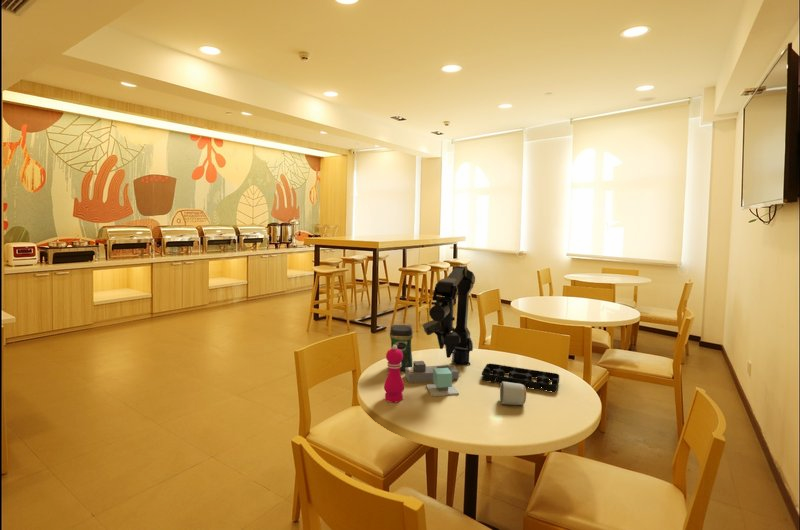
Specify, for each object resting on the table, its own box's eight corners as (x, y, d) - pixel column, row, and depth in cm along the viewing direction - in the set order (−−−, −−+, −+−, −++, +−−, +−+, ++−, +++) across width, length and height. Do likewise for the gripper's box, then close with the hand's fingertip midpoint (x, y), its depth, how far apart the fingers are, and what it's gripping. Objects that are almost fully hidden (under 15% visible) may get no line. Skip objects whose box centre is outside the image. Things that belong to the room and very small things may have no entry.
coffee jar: (412, 364, 196) (413, 322, 193) (412, 372, 188) (413, 328, 185) (390, 364, 196) (390, 322, 193) (388, 371, 188) (389, 327, 186)
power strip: (452, 372, 188) (453, 357, 187) (458, 379, 181) (458, 364, 180) (404, 375, 184) (405, 360, 183) (408, 382, 177) (408, 366, 176)
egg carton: (481, 370, 192) (481, 362, 191) (555, 376, 187) (556, 367, 186) (481, 388, 175) (481, 378, 174) (563, 395, 170) (564, 385, 169)
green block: (447, 385, 174) (447, 367, 173) (451, 391, 169) (452, 373, 168) (432, 386, 173) (433, 368, 172) (436, 392, 168) (437, 374, 166)
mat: (451, 384, 176) (451, 383, 176) (458, 394, 167) (458, 393, 167) (426, 386, 174) (426, 384, 174) (432, 396, 166) (432, 394, 165)
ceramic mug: (526, 408, 157) (527, 387, 156) (502, 407, 158) (503, 386, 157) (520, 396, 168) (521, 375, 167) (497, 395, 168) (498, 374, 167)
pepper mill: (389, 404, 159) (390, 349, 155) (380, 396, 165) (381, 343, 162) (407, 400, 162) (408, 346, 159) (398, 392, 168) (399, 340, 165)
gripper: (418, 308, 180) (418, 345, 183) (431, 322, 162) (430, 364, 165) (446, 306, 182) (445, 344, 185) (461, 320, 164) (460, 361, 167)
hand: (444, 353), depth 176 cm, fingers open, 9 cm apart
